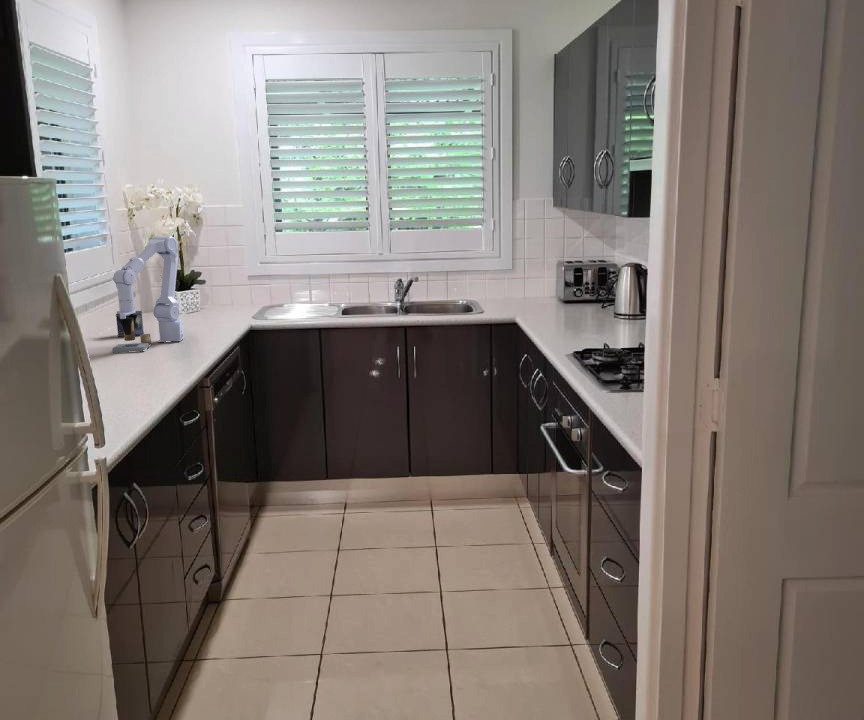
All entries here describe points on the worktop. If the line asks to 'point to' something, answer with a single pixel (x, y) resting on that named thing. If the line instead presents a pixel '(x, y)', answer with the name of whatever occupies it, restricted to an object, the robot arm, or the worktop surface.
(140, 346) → the board
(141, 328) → the small box
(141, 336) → the short dowel
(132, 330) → the long dowel
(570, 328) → the worktop surface
